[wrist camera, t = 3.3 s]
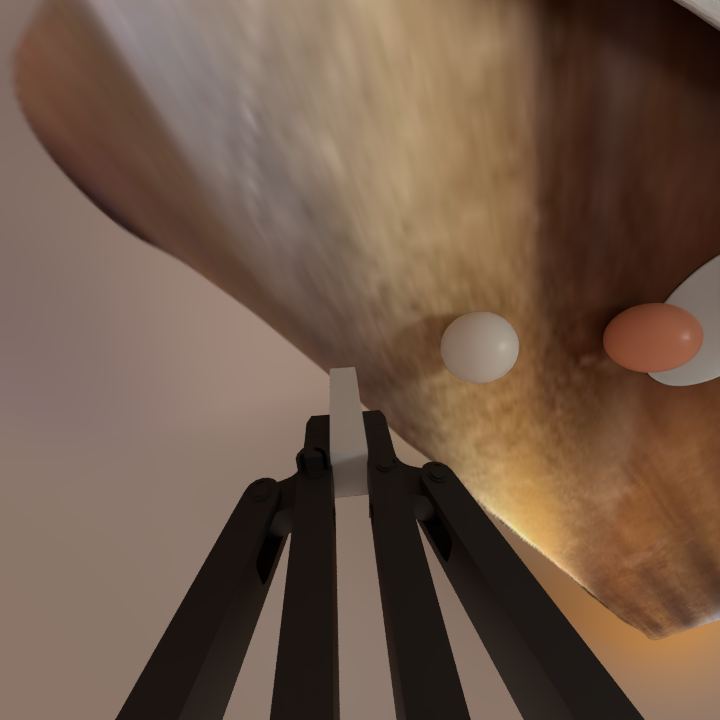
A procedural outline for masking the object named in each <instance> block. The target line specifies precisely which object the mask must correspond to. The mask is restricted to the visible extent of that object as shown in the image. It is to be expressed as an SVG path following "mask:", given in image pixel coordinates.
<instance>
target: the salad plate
mask: <svg viewBox="0 0 720 720" xmlns="http://www.w3.org/2000/svg"><path fill="white" fill-rule="evenodd" d="M673 1H675V2H677V3H678V4H680V5H681V6H683V7H685V8H686V9H688V10H689V11H691V12H692V13H694V14H695V15H697V16H698V17H700V18H701V19H703V20H704V21H706V22H707V23H709V24H710V25H712V26H713V27H715V28H716V29H718V30H719V31H720V0H673Z"/></svg>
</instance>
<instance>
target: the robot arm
mask: <svg viewBox="0 0 720 720" xmlns="http://www.w3.org/2000/svg"><path fill="white" fill-rule="evenodd" d="M296 463H297V468H298V471H297V473H295V474H294V475H293V476H291V477H289V478H287V479H285V480H282V481H279V482H276V481H275V480H274V479H271V478H262V479H259V480H256V481H254V482H253V483H251V484H250V485H249V486H248V487H247V489H246V490H245V492H244V493H243V495H242V497H241V499H240V500H239V502H238V504H237V506H236V508H235V509H234V511H233V513H232V514H231V516H230V518H229V520H228V522H227V523H226V525H225V527H224V529H223V530H222V532H221V534H220V536H219V537H218V539H217V541H216V543H215V545H214V547H213V548H212V550H211V552H210V553H209V555H208V557H207V559H206V560H205V562H204V564H203V566H202V567H201V569H200V571H199V573H198V575H197V576H196V578H195V580H194V582H193V583H192V585H191V587H190V589H189V590H188V592H187V594H186V596H185V598H184V599H183V601H182V603H181V605H180V607H179V608H178V610H177V612H176V613H175V615H174V617H173V619H172V621H171V622H170V624H169V626H168V628H167V629H166V631H165V633H164V635H163V637H162V638H161V640H160V642H159V643H158V645H157V647H156V649H155V650H154V652H153V654H152V656H151V658H150V660H149V661H148V663H147V665H146V666H145V668H144V670H143V672H142V674H141V675H140V677H139V679H138V681H137V682H136V684H135V686H134V688H133V689H132V691H131V693H130V695H129V697H128V698H127V700H126V702H125V704H124V705H123V707H122V709H121V711H120V712H119V714H118V716H117V718H116V719H115V720H222V719H223V716H224V713H225V710H226V707H227V705H228V702H229V700H230V697H231V694H232V691H233V688H234V686H235V683H236V680H237V677H238V674H239V672H240V669H241V666H242V663H243V660H244V658H245V655H246V652H247V649H248V646H249V644H250V641H251V638H252V635H253V633H254V630H255V627H256V624H257V621H258V618H259V616H260V613H261V610H262V607H263V604H264V602H265V599H266V596H267V593H268V591H269V587H270V585H271V582H272V579H273V577H274V574H275V571H276V568H277V565H278V563H279V560H280V557H281V554H282V551H283V549H284V546H285V543H286V540H287V537H288V534H289V533H291V541H290V550H289V559H288V568H287V576H286V585H285V594H284V602H283V610H282V620H281V628H280V636H279V646H278V654H277V662H276V671H275V680H274V688H273V697H272V705H271V714H270V720H340V707H339V705H340V704H339V657H338V612H337V610H338V609H337V565H336V564H337V563H336V517H335V516H336V513H335V498H338V497H348V496H358V495H367V494H369V518H371V524H372V532H373V540H374V548H375V555H376V563H377V571H378V579H379V587H380V594H381V602H382V610H383V617H384V626H385V633H386V641H387V649H388V656H389V664H390V671H391V680H392V688H393V696H394V703H395V711H396V719H397V720H471V719H470V716H469V712H468V708H467V705H466V701H465V698H464V694H463V690H462V687H461V683H460V679H459V675H458V672H457V669H456V664H455V661H454V657H453V653H452V650H451V646H450V643H449V639H448V635H447V631H446V628H445V624H444V621H443V617H442V613H441V610H440V606H439V602H438V599H437V595H436V591H435V588H434V584H433V580H432V577H431V573H430V569H429V566H428V562H427V558H426V555H425V551H424V547H423V544H422V540H421V536H420V533H419V529H418V525H417V522H416V519H417V521H418V523H419V525H420V526H421V528H422V530H423V532H424V534H425V536H426V538H427V540H428V541H429V543H430V545H431V546H432V549H433V551H434V553H435V554H436V556H437V558H438V560H439V562H440V564H441V566H442V568H443V569H444V571H445V573H446V575H447V577H448V579H449V581H450V583H451V584H452V586H453V588H454V590H455V592H456V594H457V596H458V597H459V599H460V601H461V603H462V605H463V607H464V609H465V611H466V612H467V614H468V616H469V618H470V620H471V622H472V624H473V625H474V627H475V629H476V631H477V633H478V635H479V637H480V639H481V640H482V642H483V644H484V646H485V648H486V650H487V652H488V653H489V655H490V657H491V659H492V661H493V663H494V665H495V667H496V668H497V670H498V672H499V674H500V676H501V678H502V680H503V681H504V683H505V685H506V687H507V689H508V691H509V693H510V695H511V696H512V698H513V700H514V702H515V704H516V706H517V708H518V710H519V711H520V713H521V715H522V717H523V719H524V720H644V718H643V717H642V716H641V714H640V713H639V712H638V711H637V709H636V708H635V707H634V706H633V704H632V703H631V701H630V700H629V699H628V698H627V696H626V695H625V694H624V692H623V691H622V690H621V688H620V687H619V686H618V685H617V683H616V682H615V681H614V679H613V678H612V677H611V676H610V674H609V673H608V672H607V671H606V669H605V668H604V667H603V665H602V664H601V663H600V661H599V660H598V659H597V658H596V656H595V655H594V654H593V652H592V651H591V650H590V648H589V647H588V646H587V644H586V643H585V642H584V641H583V639H582V638H581V637H580V635H579V634H578V633H577V632H576V630H575V629H574V628H573V627H572V625H571V624H570V622H569V621H568V620H567V619H566V617H565V616H564V615H563V613H562V612H561V611H560V610H559V608H558V607H557V606H556V604H555V603H554V602H553V600H552V599H551V598H550V597H549V595H548V594H547V593H546V591H545V590H544V589H543V588H542V586H541V585H540V584H539V582H538V581H537V580H536V578H535V577H534V576H533V575H532V573H531V572H530V571H529V570H528V568H527V567H526V566H525V564H524V563H523V562H522V561H521V559H520V558H519V556H518V555H517V554H516V553H515V551H514V550H513V549H512V547H511V546H510V545H509V544H508V542H507V541H506V540H505V538H504V537H503V536H502V535H501V533H500V532H499V531H498V529H497V528H496V527H495V525H494V524H493V523H492V522H491V520H490V519H489V518H488V516H487V515H486V514H485V513H484V511H483V510H482V509H481V507H480V506H479V505H478V503H477V502H476V501H475V500H474V498H473V497H472V496H471V494H470V493H469V492H468V490H467V489H466V488H465V487H464V485H463V484H462V483H461V481H460V480H459V479H458V478H457V476H456V475H455V474H454V472H453V471H452V470H451V469H450V468H449V467H448V466H447V465H445V464H443V463H440V462H435V461H434V462H428V463H426V464H424V465H423V467H422V468H418V467H413V466H409V465H406V464H404V463H402V462H401V461H400V460H399V459H398V458H397V457H396V454H395V452H394V448H393V444H392V440H391V437H390V433H389V429H388V425H387V421H386V418H385V416H384V415H383V413H382V412H381V411H380V410H376V411H363V412H362V409H361V403H360V397H359V390H358V384H357V377H356V371H355V367H350V368H335V369H330V415H320V416H311V418H310V419H309V421H308V422H307V424H306V434H305V443H304V448H303V449H302V450H301V451H300V452H299V453H298V454H297V457H296Z"/></svg>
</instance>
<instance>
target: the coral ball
mask: <svg viewBox="0 0 720 720" xmlns="http://www.w3.org/2000/svg"><path fill="white" fill-rule="evenodd" d="M703 338H704V333H703V329H702V326H701V324H700V322H699V321H698V320H697V318H696V317H695V316H694V315H693V314H691V313H690V312H688V311H687V310H685V309H683V308H680V307H678V306H675V305H671V304H665V303H648V304H641V305H637V306H634V307H631V308H629V309H627V310H624V311H623V312H621V313H619V314H618V315H617V316H615V317H614V318H613V319H612V320H611V321H610V323H609V324H608V325H607V327H606V329H605V332H604V335H603V344H604V348H605V350H606V352H607V354H608V355H609V357H610V358H611V359H612V360H613V361H615V362H616V363H617V364H619V365H620V366H622V367H625V368H627V369H630V370H633V371H637V372H644V373H657V372H664V371H669V370H672V369H675V368H678V367H680V366H682V365H684V364H685V363H687V362H688V361H690V360H691V359H692V358H693V357H694V356H695V355H696V354H697V353H698V352H699V350H700V348H701V346H702V343H703Z"/></svg>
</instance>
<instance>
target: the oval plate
mask: <svg viewBox="0 0 720 720" xmlns="http://www.w3.org/2000/svg"><path fill="white" fill-rule="evenodd" d="M664 303H665V304H671V305H675V306H678V307H680V308H683V309H685V310H687V311H688V312H690V313H691V314H693V315H694V316H695V317H696V318H697V320H698V321H699V322H700V324H701V326H702V329H703V333H704V338H703V343H702V346H701V348H700V350H699V352H698V353H697V354H696V355H695V356H694V357H693V358H692V359H691V360H690V361H688V362H687V363H685V364H684V365H682V366H680V367H678V368H675V369H672V370H669V371H664V372H657V373H648V374H649V375H650V376H651V377H652V378H653V379H655V380H657V381H659V382H661V383H663V384H667V385H672V386H686V385H693V384H698V383H702V382H705V381H709V380H712V379H714V378H717V377H719V376H720V255H718V256H716V257H714V258H713V259H711V260H710V261H708V262H707V263H705V264H704V265H703V266H701V267H700V268H699V269H697V270H696V271H695V272H694V273H692V274H691V275H690V276H689V277H688V278H687V279H685V280H684V281H683V282H682V283H681V284H680V285H679V286H678V287H677V288H676V289H675V290H674V291H673V292H672V293H671V295H670V296H669V297H668V298H667V299H666V301H665V302H664Z"/></svg>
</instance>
